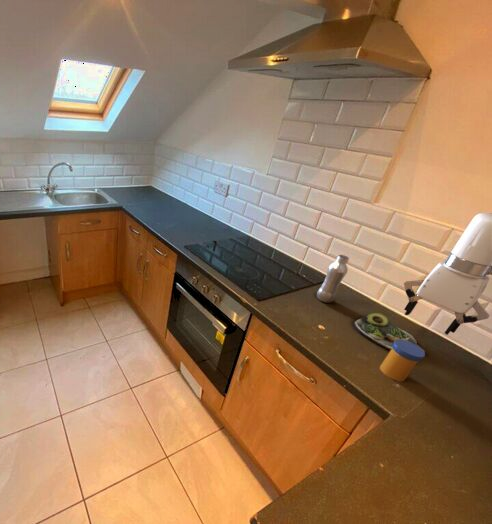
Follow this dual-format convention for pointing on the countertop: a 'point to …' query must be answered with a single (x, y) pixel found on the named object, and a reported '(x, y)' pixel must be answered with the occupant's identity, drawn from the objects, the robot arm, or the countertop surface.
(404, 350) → the lid
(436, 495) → the countertop surface
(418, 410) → the countertop surface
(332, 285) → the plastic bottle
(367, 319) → the salad plate
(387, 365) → the jar
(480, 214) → the robot arm
